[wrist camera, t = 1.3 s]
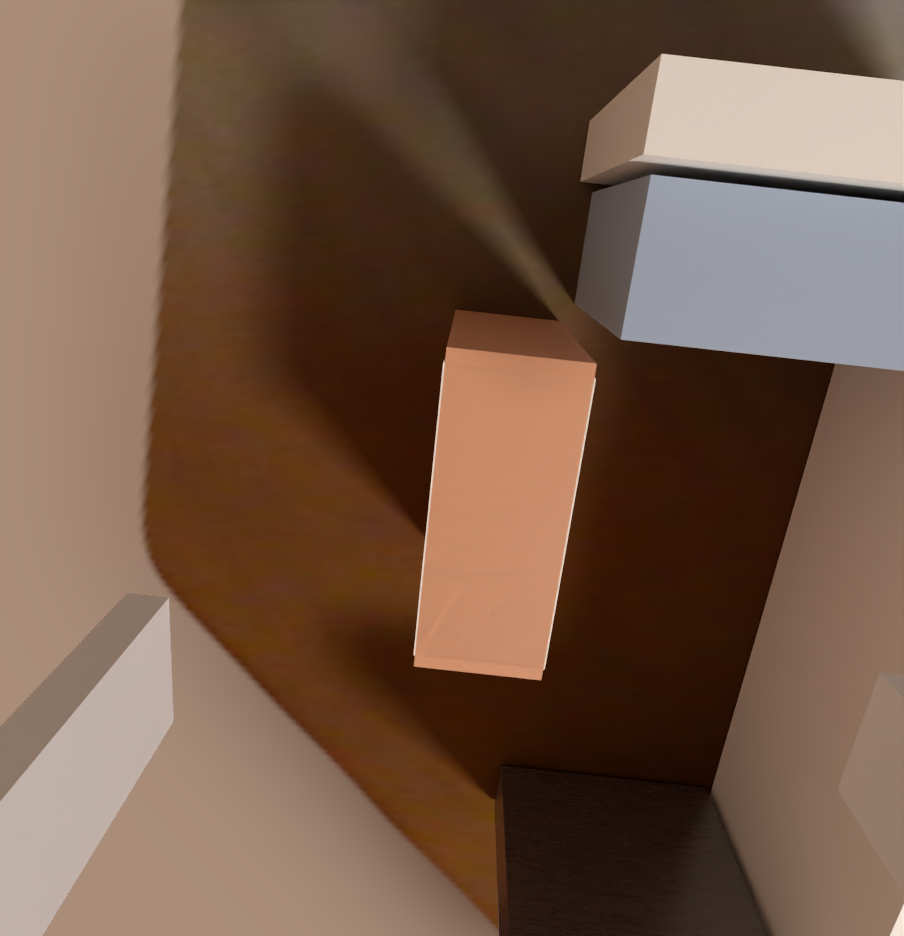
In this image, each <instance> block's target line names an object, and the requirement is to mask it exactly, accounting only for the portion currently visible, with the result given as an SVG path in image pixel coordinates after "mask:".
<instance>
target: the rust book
mask: <svg viewBox="0 0 904 936" xmlns="http://www.w3.org/2000/svg"><path fill="white" fill-rule="evenodd" d="M596 366H597V363H596V362H595V361H594V360H593V359H592V358H591V357H590V355H589V354H588V353H587V352H586V351H585V350H584V349H583V348H582V346H581V345H580V344H579V343H578V342H577V341H576V340H575V339H574V338H573V336H572V335H571V334H570V333H569V332H568V331H567V330H566V329H565V327H564V326H563V325H562V324H561V323H560V322H559V321H555V320H546V319H537V318H528V317H519V316H510V315H501V314H492V313H483V312H474V311H465V310H456V311H455V315H454V319H453V323H452V327H451V331H450V335H449V339H448V343H447V348H446V358H445V360H443V368H442V378H441V388H440V398H439V408H438V418H437V428H436V437H435V447H434V457H433V467H432V477H431V487H430V497H429V506H428V516H427V526H426V536H425V546H424V556H423V566H422V575H421V585H420V595H419V605H418V615H417V625H416V634H415V644H414V654H413V655H414V656H415V660H414V667H423V668H432V669H441V670H451V671H460V672H469V673H478V674H487V675H497V676H506V677H515V678H524V679H533V680H541V679H542V674H543V670H545V666H546V660H547V655H548V649H549V643H550V638H551V632H552V626H553V621H554V615H555V609H556V604H557V598H558V592H559V587H560V581H561V575H562V570H563V564H564V558H565V553H566V547H567V541H568V536H569V530H570V524H571V518H572V513H573V507H574V501H575V496H576V490H577V484H578V479H579V473H580V467H581V462H582V456H583V450H584V445H585V439H586V433H587V428H588V422H589V416H590V411H591V405H592V399H593V394H594V388H595V382H596V378H595V372H596Z"/></svg>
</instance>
